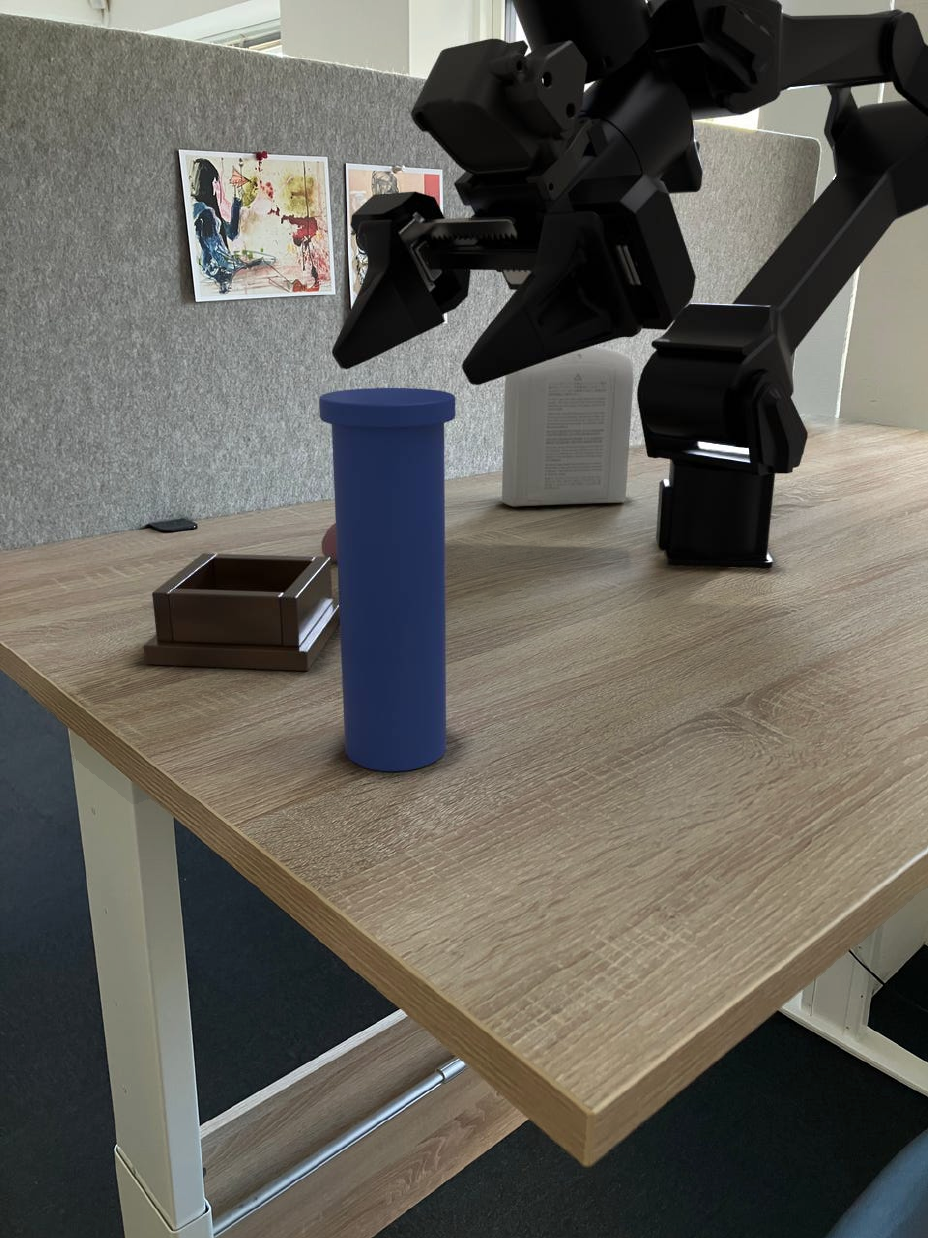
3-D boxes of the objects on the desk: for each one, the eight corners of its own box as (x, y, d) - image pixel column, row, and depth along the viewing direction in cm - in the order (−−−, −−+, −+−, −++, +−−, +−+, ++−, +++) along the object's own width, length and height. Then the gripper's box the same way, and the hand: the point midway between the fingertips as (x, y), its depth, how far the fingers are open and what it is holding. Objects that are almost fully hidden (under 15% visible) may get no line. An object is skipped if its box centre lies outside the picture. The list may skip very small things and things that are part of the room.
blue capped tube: (462, 725, 43) (462, 388, 38) (448, 780, 38) (446, 405, 34) (349, 720, 43) (336, 386, 39) (322, 773, 39) (303, 403, 34)
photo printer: (615, 493, 85) (622, 340, 81) (634, 504, 81) (643, 344, 77) (495, 499, 83) (497, 342, 79) (509, 511, 79) (512, 346, 75)
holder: (344, 616, 56) (342, 554, 55) (307, 671, 48) (303, 601, 47) (202, 611, 57) (197, 550, 55) (144, 664, 49) (137, 595, 48)
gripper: (399, 32, 52) (189, 214, 47) (706, -43, 39) (462, 196, 34) (488, 225, 60) (314, 401, 54) (773, 215, 47) (579, 445, 41)
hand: (398, 368), depth 46 cm, fingers open, 9 cm apart
